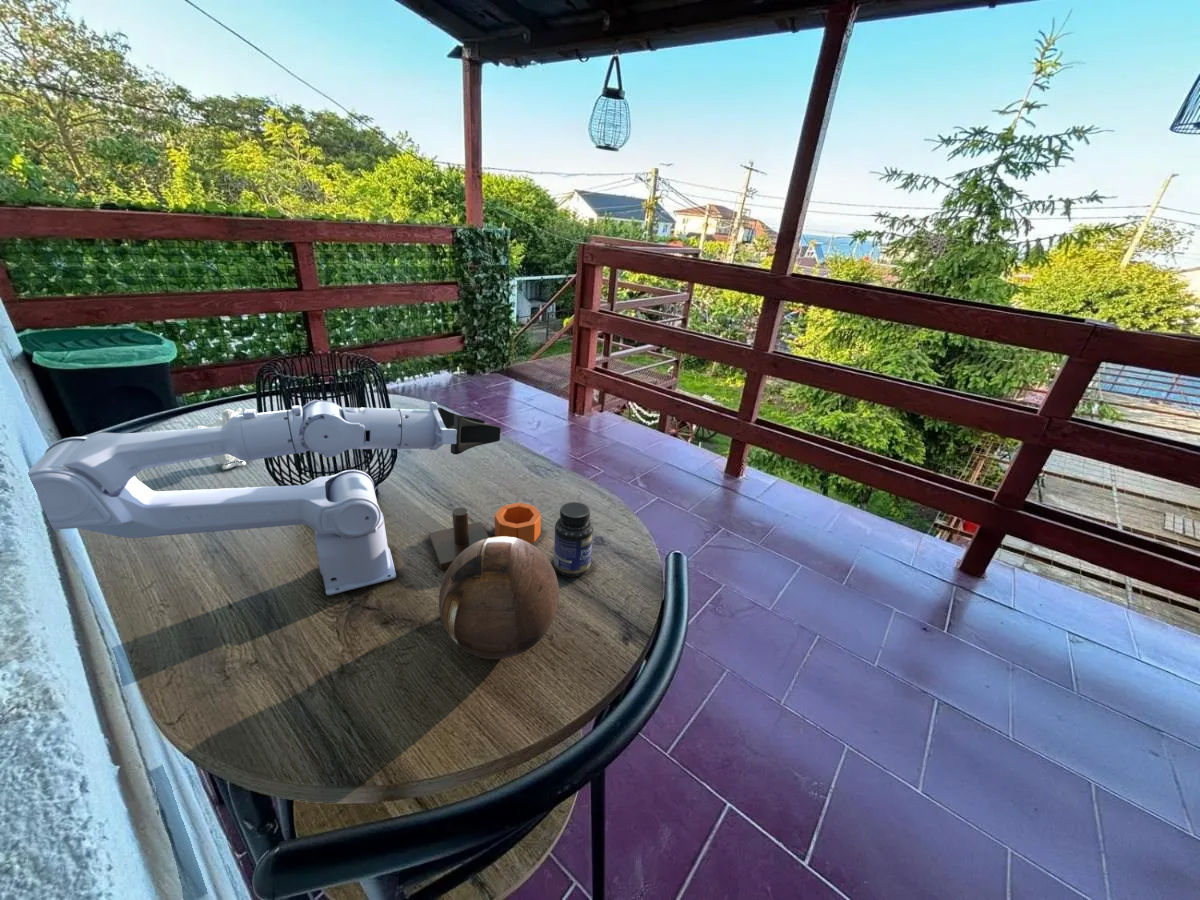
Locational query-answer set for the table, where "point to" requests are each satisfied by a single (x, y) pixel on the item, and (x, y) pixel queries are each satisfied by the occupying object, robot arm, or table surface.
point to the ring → (518, 522)
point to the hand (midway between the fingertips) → (491, 430)
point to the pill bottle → (573, 540)
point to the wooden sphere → (499, 597)
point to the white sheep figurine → (219, 423)
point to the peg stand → (456, 538)
